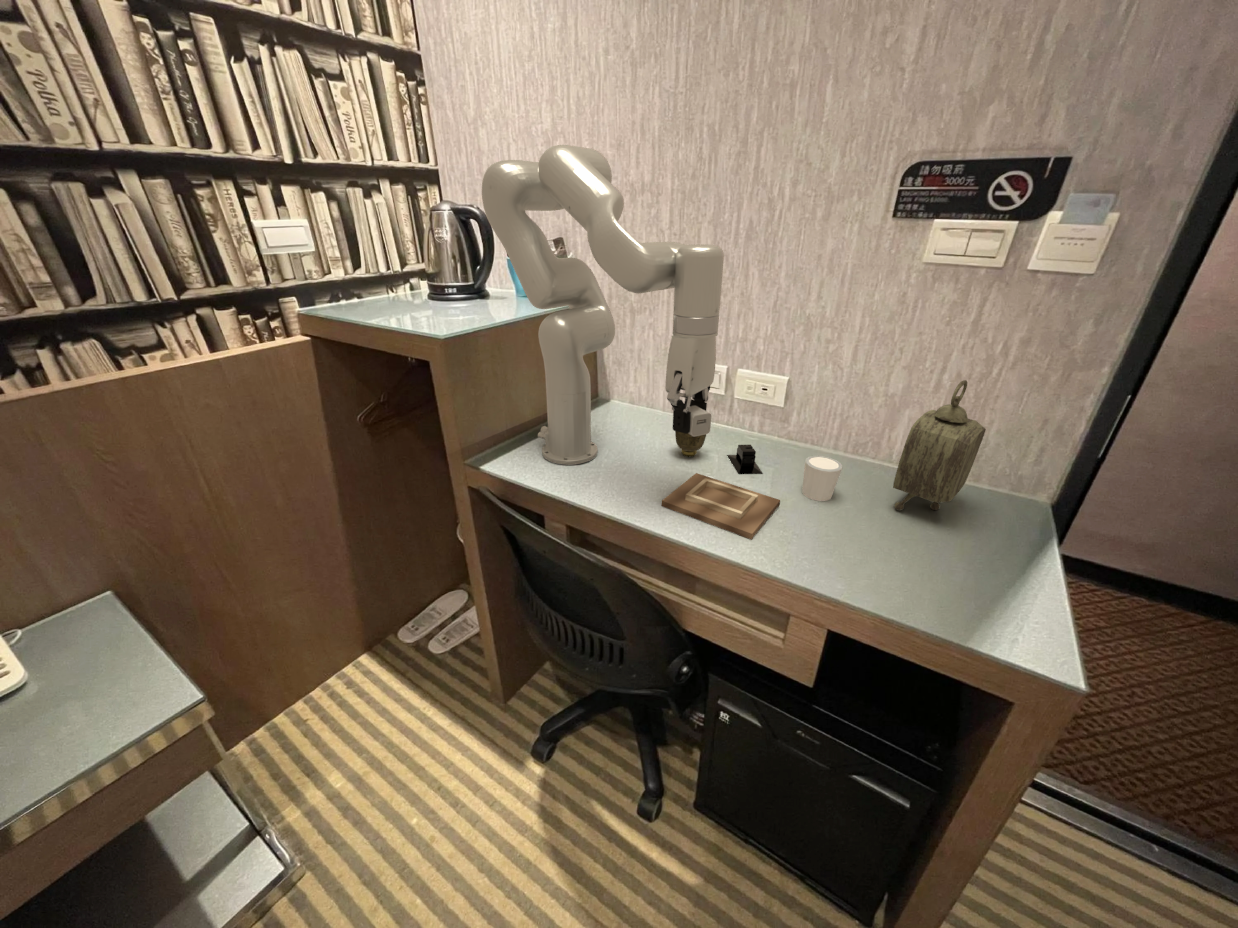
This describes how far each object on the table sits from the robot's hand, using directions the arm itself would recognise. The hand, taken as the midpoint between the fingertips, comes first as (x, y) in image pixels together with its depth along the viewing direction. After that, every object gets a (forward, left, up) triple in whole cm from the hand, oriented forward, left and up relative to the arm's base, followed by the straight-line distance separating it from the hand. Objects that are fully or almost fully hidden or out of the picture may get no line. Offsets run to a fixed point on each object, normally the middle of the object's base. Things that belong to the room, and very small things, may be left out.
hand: (689, 425), depth 92 cm
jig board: (+7, +2, -15) cm, 17 cm away
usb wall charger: (0, 0, -1) cm, 1 cm away
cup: (-8, +18, -15) cm, 25 cm away
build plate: (+4, +21, -16) cm, 27 cm away
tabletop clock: (+39, +26, -15) cm, 49 cm away
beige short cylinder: (+21, +18, -15) cm, 31 cm away
